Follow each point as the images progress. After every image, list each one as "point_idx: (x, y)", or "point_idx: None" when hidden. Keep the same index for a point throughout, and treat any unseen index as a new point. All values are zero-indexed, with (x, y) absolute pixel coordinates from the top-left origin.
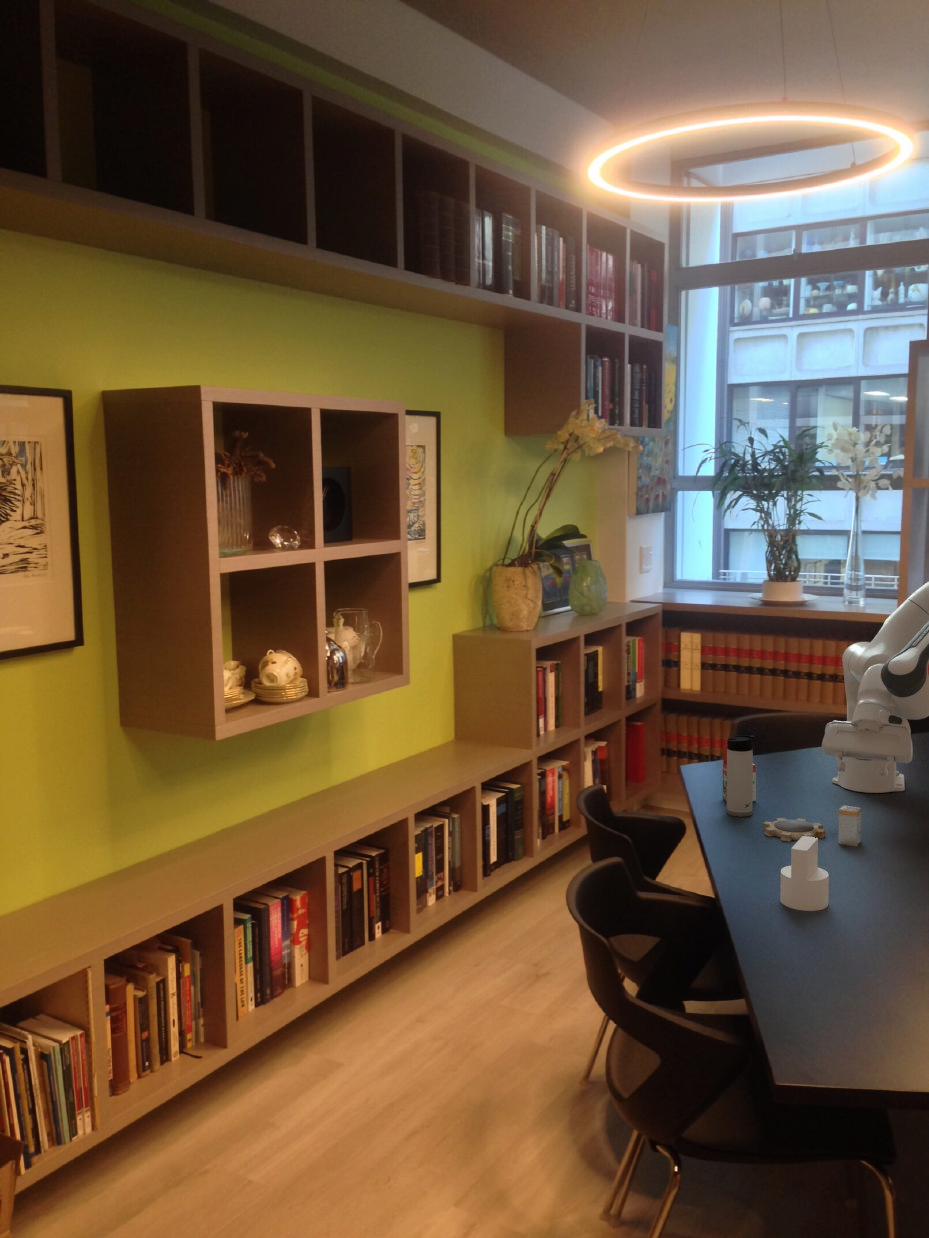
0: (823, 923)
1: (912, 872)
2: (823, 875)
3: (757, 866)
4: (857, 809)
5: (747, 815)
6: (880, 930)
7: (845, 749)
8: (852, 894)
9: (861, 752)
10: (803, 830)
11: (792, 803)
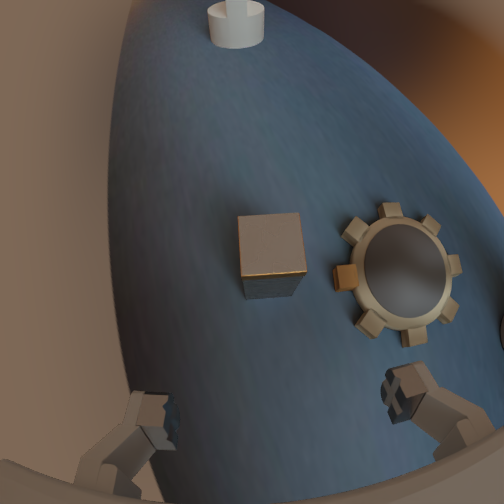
0: (204, 20)
1: (116, 168)
2: (213, 10)
3: (343, 87)
4: (246, 246)
5: (502, 321)
6: (153, 32)
7: (459, 455)
8: (191, 65)
9: (332, 494)
10: (374, 241)
11: None
